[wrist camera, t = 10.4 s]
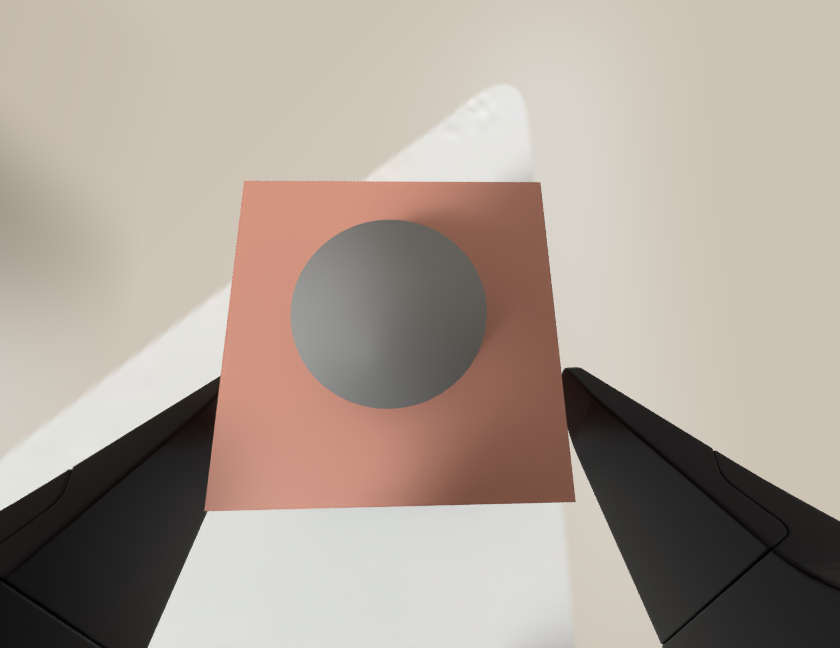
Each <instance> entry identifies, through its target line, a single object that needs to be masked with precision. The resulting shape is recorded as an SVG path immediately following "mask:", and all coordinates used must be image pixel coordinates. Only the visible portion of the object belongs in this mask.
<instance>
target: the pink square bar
mask: <svg viewBox="0 0 840 648" xmlns="http://www.w3.org/2000/svg"><path fill="white" fill-rule="evenodd" d="M552 502H575V493H574V484H573V474H572V466H571V456H570V448H569V439H568V429H567V420H566V411H565V402H564V393H563V384H562V375H561V366H560V357H559V348H558V339H557V330H556V321H555V311H554V302H553V293H552V284H551V275H550V267H549V257H548V248H547V239H546V230H545V221H544V212H543V203H542V194H541V185H540V183H539V182H346V181H344V182H343V181H341V182H340V181H336V182H335V181H330V182H329V181H244V187H243V196H242V204H241V212H240V220H239V229H238V237H237V245H236V253H235V262H234V270H233V278H232V287H231V295H230V303H229V311H228V320H227V328H226V336H225V345H224V353H223V361H222V369H221V378H220V386H219V394H218V403H217V411H216V419H215V427H214V436H213V444H212V452H211V461H210V469H209V477H208V486H207V494H206V502H205V510H204V511H229V510H269V509H310V508H350V507H390V506H431V505H471V504H512V503H552Z"/></svg>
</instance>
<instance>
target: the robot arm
mask: <svg viewBox="0 0 840 648" xmlns="http://www.w3.org/2000/svg"><path fill="white" fill-rule="evenodd" d="M220 378H221V376H220V377H218V378H216V379H215V380H213V381H211V382H210V383H208V384H207V385H205V386H203V387H202V388H200V389H199V390H197V391H195V392H194V393H192V394H190V395H189V396H187V397H186V398H184V399H182V400H181V401H179V402H178V403H176V404H174V405H173V406H171V407H169V408H168V409H166V410H165V411H163V412H161V413H160V414H158V415H156V416H155V417H153V418H152V419H150V420H148V421H147V422H145V423H144V424H142V425H140V426H139V427H137V428H135V429H134V430H132V431H131V432H129V433H127V434H126V435H124V436H123V437H121V438H119V439H118V440H116V441H114V442H113V443H111V444H110V445H108V446H106V447H105V448H103V449H101V450H100V451H98V452H97V453H95V454H93V455H92V456H90V457H89V458H87V459H85V460H84V461H82V462H80V463H79V464H77V465H76V466H74V467H73V469H72V470H71V469H70V470H67V471H66V472H64V473H63V474H61V475H59V476H58V477H56V478H55V479H53V480H51V481H50V482H48V483H46V484H45V485H43V486H41V487H40V488H38V489H36V490H35V491H33V492H31V493H30V494H28V495H27V496H25V497H23V498H22V499H20V500H18V501H17V502H15V503H13V504H11V505H10V506H8V507H6V508H4V509H3V510H1V511H0V648H148V645H149V643H150V641H151V639H152V636H153V634H154V632H155V629H156V627H157V625H158V623H159V620H160V618H161V616H162V614H163V611H164V609H165V607H166V604H167V602H168V600H169V598H170V595H171V593H172V591H173V589H174V586H175V584H176V582H177V579H178V577H179V575H180V573H181V570H182V568H183V566H184V563H185V561H186V559H187V557H188V554H189V552H190V550H191V548H192V545H193V543H194V541H195V538H196V536H197V534H198V532H199V529H200V527H201V525H202V522H203V520H204V518H205V516H206V513H207V511H204V510H205V502H206V494H207V486H208V477H209V469H210V461H211V452H212V444H213V436H214V427H215V419H216V411H217V403H218V394H219V386H220ZM562 384H563V393H564V402H565V411H566V420H567V428H568V431H569V434H570V437H571V440H572V443H573V446H574V449H575V451H576V453H577V456H578V458H579V460H580V462H581V465H582V467H583V469H584V471H585V474H586V476H587V478H588V480H589V482H590V485H591V487H592V489H593V492H594V494H595V496H596V498H597V501H598V503H599V505H600V507H601V510H602V512H603V514H604V516H605V519H606V521H607V523H608V525H609V528H610V530H611V532H612V534H613V536H614V539H615V541H616V543H617V545H618V548H619V550H620V552H621V554H622V557H623V559H624V561H625V563H626V566H627V568H628V570H629V573H630V575H631V577H632V579H633V581H634V584H635V586H636V588H637V590H638V593H639V595H640V597H641V599H642V602H643V604H644V606H645V608H646V611H647V613H648V615H649V617H650V620H651V622H652V624H653V626H654V629H655V631H656V633H657V635H658V637H659V640H660V642H661V644H663V646H662V647H663V648H840V521H838V520H836V519H834V518H833V517H831V516H829V515H827V514H825V513H824V512H822V511H820V510H818V509H816V508H814V507H813V506H811V505H809V504H807V503H805V502H803V501H802V500H800V499H798V498H796V497H794V496H792V495H791V494H789V493H787V492H785V491H784V490H782V489H780V488H778V487H776V486H775V485H773V484H771V483H769V482H768V481H766V480H764V479H762V478H761V477H759V476H757V475H756V474H754V473H752V472H751V471H749V470H747V469H745V468H744V467H742V466H740V465H739V464H737V463H735V462H734V461H732V460H730V459H729V458H727V457H726V456H724V455H722V454H720V453H719V452H717V451H713V449H712V448H711V447H709V446H708V445H706V444H704V443H703V442H701V441H699V440H698V439H696V438H694V437H693V436H691V435H690V434H688V433H686V432H684V431H683V430H681V429H679V428H678V427H676V426H675V425H673V424H671V423H670V422H668V421H667V420H665V419H663V418H662V417H660V416H658V415H657V414H655V413H654V412H652V411H650V410H649V409H647V408H645V407H644V406H642V405H641V404H639V403H637V402H636V401H634V400H632V399H631V398H629V397H627V396H626V395H624V394H623V393H621V392H619V391H618V390H616V389H614V388H613V387H611V386H609V385H608V384H606V383H604V382H603V381H601V380H600V379H598V378H596V377H595V376H593V375H591V374H590V373H588V372H587V371H585V370H583V369H582V368H578V367H577V368H576V367H574V368H565V369H564V370H563V373H562Z"/></svg>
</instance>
